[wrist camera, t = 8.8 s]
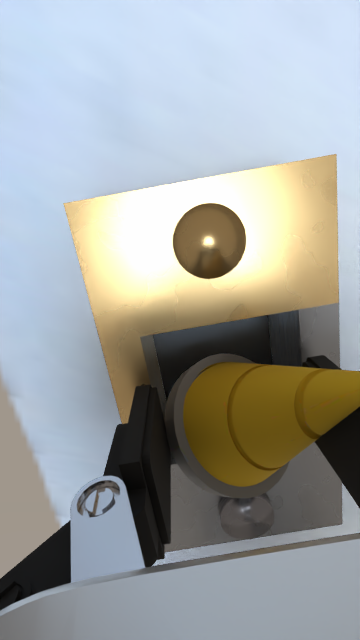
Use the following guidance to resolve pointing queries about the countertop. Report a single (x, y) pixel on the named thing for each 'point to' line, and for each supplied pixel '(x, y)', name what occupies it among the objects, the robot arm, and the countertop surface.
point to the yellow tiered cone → (251, 420)
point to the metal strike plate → (220, 310)
